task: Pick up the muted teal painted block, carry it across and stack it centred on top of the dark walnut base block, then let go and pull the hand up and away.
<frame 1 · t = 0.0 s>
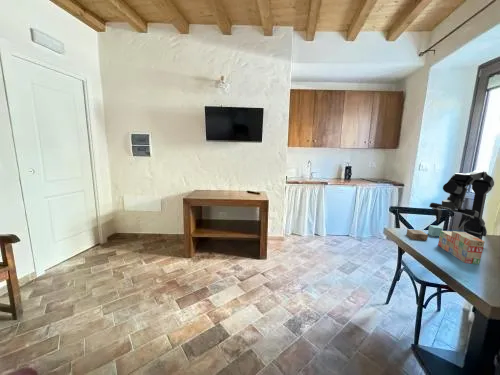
hand: (447, 225, 115), 15 cm above the table, tool pointing down, fingers open, 9 cm apart
teal block: (434, 235, 144), on the table
walnut base block: (416, 237, 139), on the table
stack of blocks: (456, 254, 116), on the table
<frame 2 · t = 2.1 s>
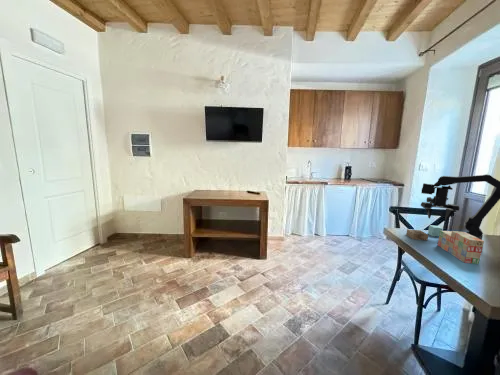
hand: (437, 219, 142), 11 cm above the table, tool pointing down, fingers open, 9 cm apart
nothing on the table moved.
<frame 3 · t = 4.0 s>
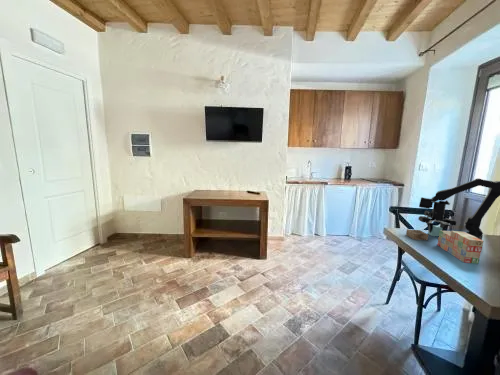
hand: (434, 233, 143), 2 cm above the table, tool pointing down, fingers closed on teal block, 5 cm apart
teal block: (434, 235, 144), on the table, touching gripper
everything else where it was.
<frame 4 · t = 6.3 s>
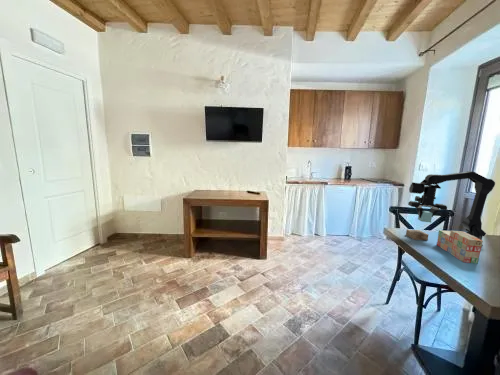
hand: (424, 218, 139), 12 cm above the table, tool pointing down, fingers closed on teal block, 5 cm apart
teal block: (424, 220, 139), point 10 cm above the table, touching gripper
everything else where it was.
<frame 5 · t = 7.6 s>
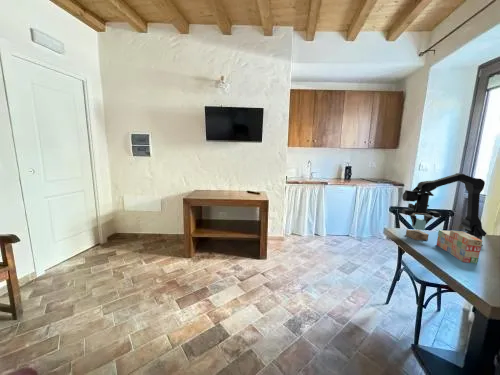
hand: (418, 226, 137), 7 cm above the table, tool pointing down, fingers closed on teal block, 5 cm apart
teal block: (417, 228, 138), point 6 cm above the table, touching gripper
everything else where it was.
when the fingers open (7 cm above the table, at t = 8.5 s): teal block drops 2 cm, point 4 cm above the table.
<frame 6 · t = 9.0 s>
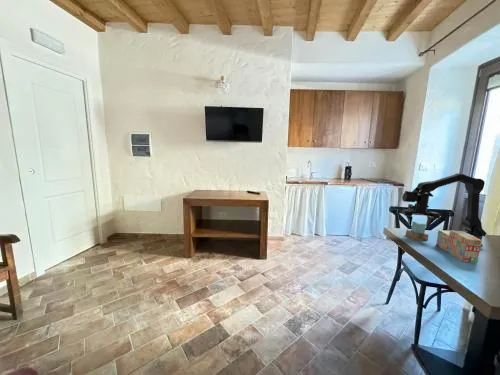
hand: (418, 226, 137), 7 cm above the table, tool pointing down, fingers open, 9 cm apart
teal block: (417, 232, 138), point 4 cm above the table
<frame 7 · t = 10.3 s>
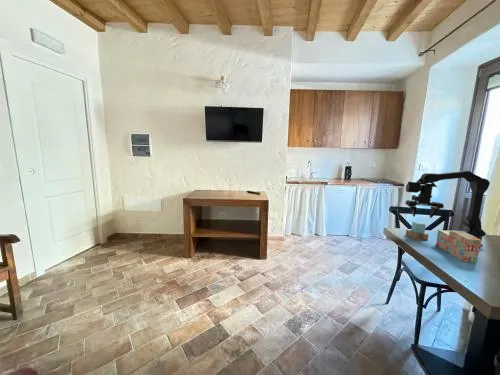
hand: (422, 217, 139), 13 cm above the table, tool pointing down, fingers open, 9 cm apart
teal block: (417, 232, 138), point 4 cm above the table, touching walnut base block
walnut base block: (416, 238, 139), on the table, touching teal block
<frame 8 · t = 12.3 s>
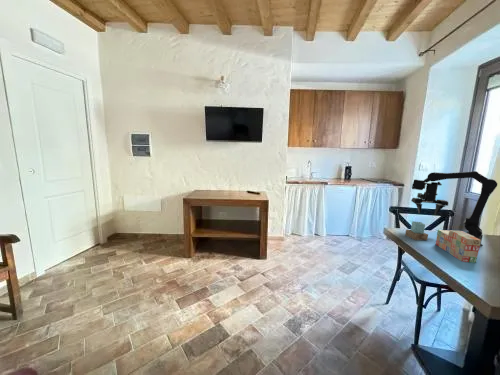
hand: (427, 214, 146), 13 cm above the table, tool pointing down, fingers open, 9 cm apart
at the end: teal block 0.1 cm off-centre on the walnut base block, point 4.0 cm above the walnut base block's base; teal block tilted 0°; the gripper is holding nothing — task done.
